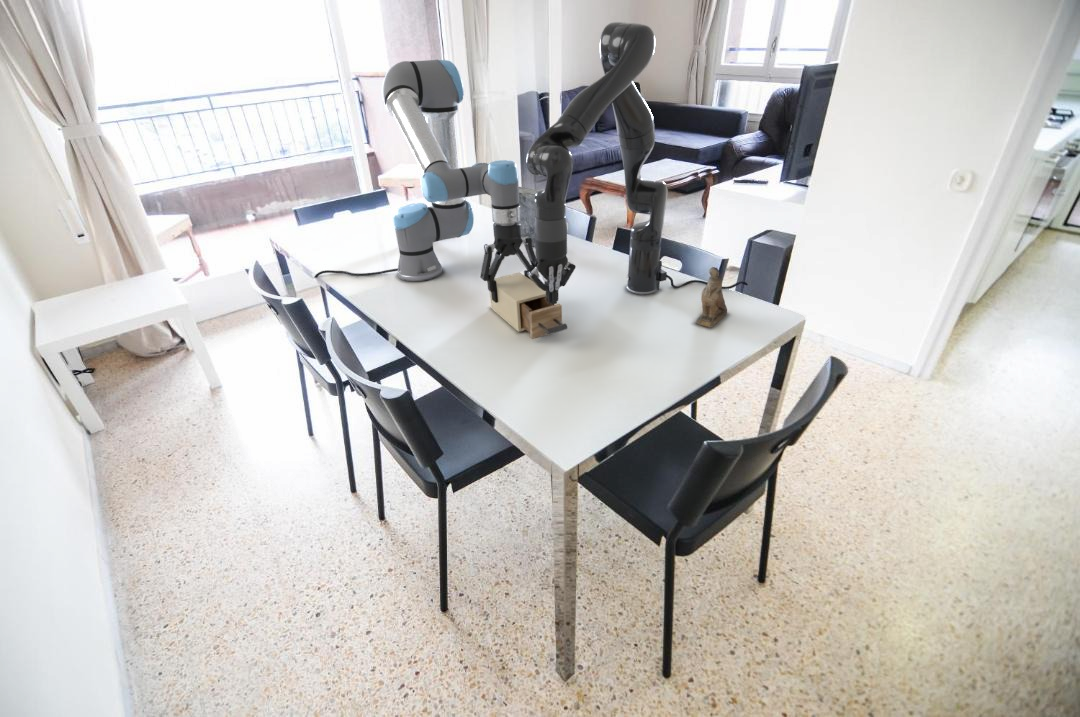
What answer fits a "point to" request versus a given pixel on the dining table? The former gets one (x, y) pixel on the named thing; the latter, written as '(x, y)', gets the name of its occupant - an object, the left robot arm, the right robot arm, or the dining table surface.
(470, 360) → the dining table surface
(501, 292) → the cabinet
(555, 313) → the drawer
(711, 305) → the brown carved statuette
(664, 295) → the dining table surface
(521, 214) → the concrete block
